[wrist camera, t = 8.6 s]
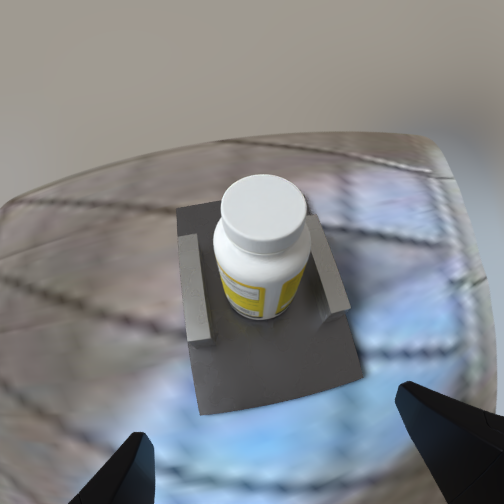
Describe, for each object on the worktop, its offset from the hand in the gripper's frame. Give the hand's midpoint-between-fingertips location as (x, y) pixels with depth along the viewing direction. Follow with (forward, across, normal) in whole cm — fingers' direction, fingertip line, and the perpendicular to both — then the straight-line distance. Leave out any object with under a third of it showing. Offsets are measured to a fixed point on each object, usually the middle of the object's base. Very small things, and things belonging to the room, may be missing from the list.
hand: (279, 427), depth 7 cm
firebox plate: (+14, -1, +1) cm, 15 cm away
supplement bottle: (+14, -1, +1) cm, 14 cm away
